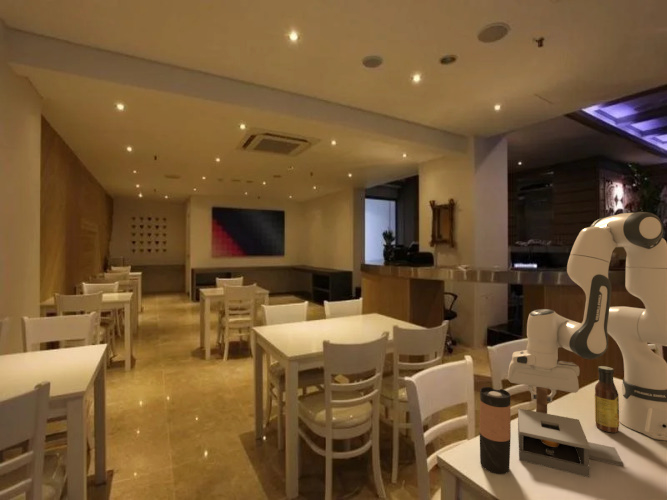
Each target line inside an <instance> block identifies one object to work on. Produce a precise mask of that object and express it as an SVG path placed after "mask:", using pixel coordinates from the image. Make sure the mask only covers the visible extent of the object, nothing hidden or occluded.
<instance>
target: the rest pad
mask: <svg viewBox="0 0 667 500" xmlns="http://www.w3.org/2000/svg"><path fill="white" fill-rule="evenodd" d="M588 444H589V446H590V450H589V460H593V461H599V462H603V463H607V464H612V465H617V466H620V467H623V460H622V458H621V456H620V455H619V453H618V451H617V449H616V447H614V446H609V445H605V444H600V443H594V442H590V441H588Z"/></svg>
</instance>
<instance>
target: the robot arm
mask: <svg viewBox="0 0 667 500" xmlns="http://www.w3.org/2000/svg"><path fill="white" fill-rule="evenodd" d="M663 233H664V226H663V223H662V221H661V219H660V217H658V215H656V214H654V213H652V212H646V211H635V212H625V213H624V212H623V213H619V214H618V213H617V214H615V215H610V216H603V217H600V218H599V219H597V220H594V222H593V223H592V224H591V225H590V226H588V227H585V228H582V229H581V230H580V232H579V233H578V235H577V237H576V239H575V241H574V243H573V245H572V248H571V251H570V254H569V257H568V259H567V265H566V272H567V275H568V277H569V278H570V279H571V281H572V282H574V283H575V284H576V285H578V286H579V287H580V289H582V290H583V292H584V294H585V305H584V314H583V320H582V321H581V322H579V321H575V320H572V319H569V318H566V317H565V316H562V315H560V314H558V313H557V312H556V311H555V310H553V309H547V308H541V309H539V308H538V309H534V310H532V311H531V312H530V313H529V314H528V318H527V323H526V337H527V344H526V349H525V350H524V349H523V350H518V351H514V352H513V353H512V355H511V361H510V362H509V366H508V372H507V373H508V374H507V380H508V382H510V383H511V384H517V385H524V386H527V389H528V391H529V393H530V394H531V400H535V401H536V400H537V394H536V392H534V391H533V389H534V388H533V387H535V388H536V387H542V388H547V390H550V391H551V393H550V394H547V403H548V402H549V403H553V398H554V397H555V395H556V394H557V391H563V392H567V393H568V392H569V393H575V394H576V393H578V392H579V390H580V384H579V379H578V377H579V376H580V369H581V368H580V367H579V365H577V364H576V363H575V362H572V361H565V360H558V358H559V357H558V353H559V351H558V350H559V348H563V349H564V350H567V351H569V352H572V353H574V354H575V355H578V356H579V357H580V358H583V359H586V360H595V359H597V358H599V357H601V356H603V355H604V354H605V353H606V351H607V349H608V347H609V337H611V338H612V339H613V341H615V343H616V344H617V345H618V348H619V350H620V352H621V355H622V359H623V371H624V372H623V373H624V377H623V379H622V383H621V386H622V387H621V392H622V394H621V395H622V397H623V398H622V404H621V409H620V410H619V423H620V424H622V425H623V426H625V427H626V428H628V429H630V430H632V431H633V430H634V431H635V432H639V433H641V434H643V435H645V436H647V437H648V438H651V439H653V440H657V441H658V440H660V441H667V361H666V360H665V359H664V358H663V357H662V356H660V355H658V354H657V353H656V352H654V351H653V350H652V349H651V347H650V346H649V344H652V345H659V346H663V347H667V241H666V240H665V238H663V236H664V234H663ZM616 248H623V249H624V251H625V253H626V258H625V282H624V283H625V289H626V291H627V292H628V293H629V294H630V295H632V296H634V297H636V298H638V299H639V300H640V301H641V302H642V303H643V306H644V307H645V308H641V307H640V308H639V307H631V306H624V305H623V306H611V299H612V282H611V280H610V279H609V268H610V263H611V260H612V254H613V251H614V250H615V249H616ZM608 336H609V337H608Z"/></svg>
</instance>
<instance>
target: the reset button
mask: <svg viewBox="0 0 667 500" xmlns="http://www.w3.org/2000/svg"><path fill="white" fill-rule="evenodd" d="M540 441H541V443H542V444H543V445H546V446H547V447H553V448H558V447H559V446H560V444H559V443H557V442H552V441H548V440H543V439H541V440H540Z"/></svg>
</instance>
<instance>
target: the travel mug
mask: <svg viewBox="0 0 667 500" xmlns="http://www.w3.org/2000/svg"><path fill="white" fill-rule="evenodd" d="M511 425H512V424H511V394H510V392H509V391H507V390H505V389H504V388H503V389H502V388H500V389H495V388H492V387H491V386H485V387H482V388H480V390H479V429H478V431H479V457H480V458H479V459H480V462H479V463H480V465H481V466H482V468H483V469H484V470H486V471H487V472H489V471H490V473H492V474H495V473H496V474H497V475H505V474H508V472H509V471H510V462H511V461H510V460H511V436H512V435H511Z"/></svg>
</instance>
